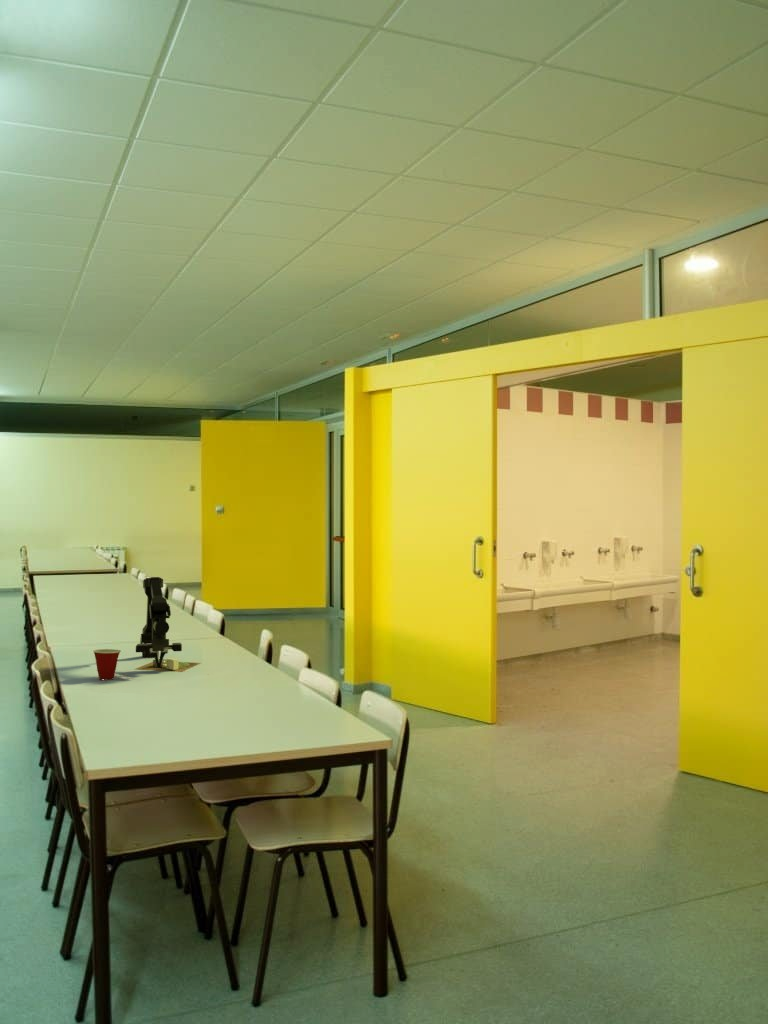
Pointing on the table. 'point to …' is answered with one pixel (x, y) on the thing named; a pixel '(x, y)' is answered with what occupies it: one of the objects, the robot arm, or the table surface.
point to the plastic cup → (106, 662)
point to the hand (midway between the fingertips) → (158, 667)
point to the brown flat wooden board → (181, 667)
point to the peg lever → (168, 663)
